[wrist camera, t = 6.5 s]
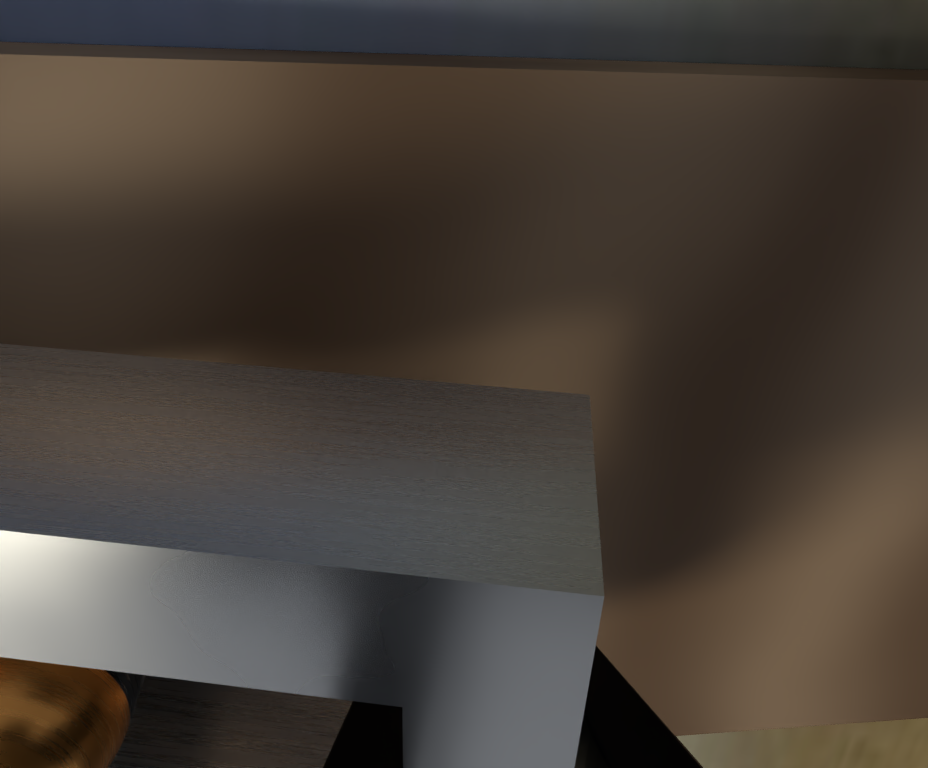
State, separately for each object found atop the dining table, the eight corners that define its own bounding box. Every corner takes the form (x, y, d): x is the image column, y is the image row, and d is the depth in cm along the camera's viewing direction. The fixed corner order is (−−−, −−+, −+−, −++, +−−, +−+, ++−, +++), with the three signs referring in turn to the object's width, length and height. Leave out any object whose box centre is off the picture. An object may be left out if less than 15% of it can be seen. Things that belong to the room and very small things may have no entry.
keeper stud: (183, 446, 11) (66, 731, 7) (205, 567, 12) (115, 872, 8) (12, 450, 11) (-216, 747, 7) (51, 574, 12) (-122, 892, 8)
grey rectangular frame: (589, 395, 8) (603, 596, 5) (535, 786, 11) (529, 1027, 9) (-399, 308, 9) (-795, 442, 6) (-177, 693, 12) (-376, 884, 10)
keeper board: (1487, 86, 12) (1624, 101, 11) (1111, 648, 18) (1168, 700, 17) (-114, 38, 9) (-194, 48, 8) (98, 711, 16) (72, 779, 14)
